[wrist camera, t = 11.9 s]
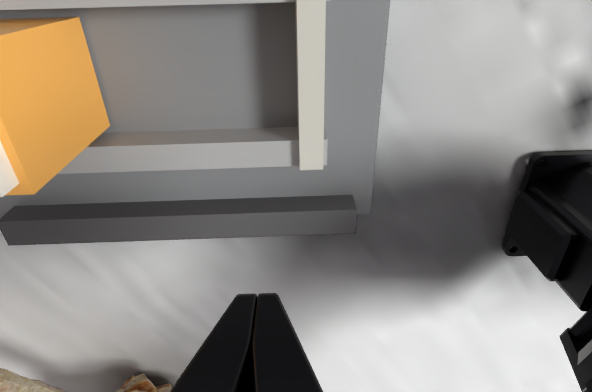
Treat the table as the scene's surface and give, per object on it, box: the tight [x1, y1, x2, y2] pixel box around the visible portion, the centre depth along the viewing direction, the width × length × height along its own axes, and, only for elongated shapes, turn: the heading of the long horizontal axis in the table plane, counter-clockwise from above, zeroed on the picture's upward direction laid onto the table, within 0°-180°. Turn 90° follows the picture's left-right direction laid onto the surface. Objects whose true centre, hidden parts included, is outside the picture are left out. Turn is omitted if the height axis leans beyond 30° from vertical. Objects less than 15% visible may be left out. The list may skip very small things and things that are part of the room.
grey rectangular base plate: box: [0, 195, 357, 245], centre depth 15 cm, size 17×15×1 cm
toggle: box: [0, 17, 110, 197], centre depth 13 cm, size 3×4×7 cm
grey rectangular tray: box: [0, 0, 390, 218], centre depth 16 cm, size 19×15×3 cm
